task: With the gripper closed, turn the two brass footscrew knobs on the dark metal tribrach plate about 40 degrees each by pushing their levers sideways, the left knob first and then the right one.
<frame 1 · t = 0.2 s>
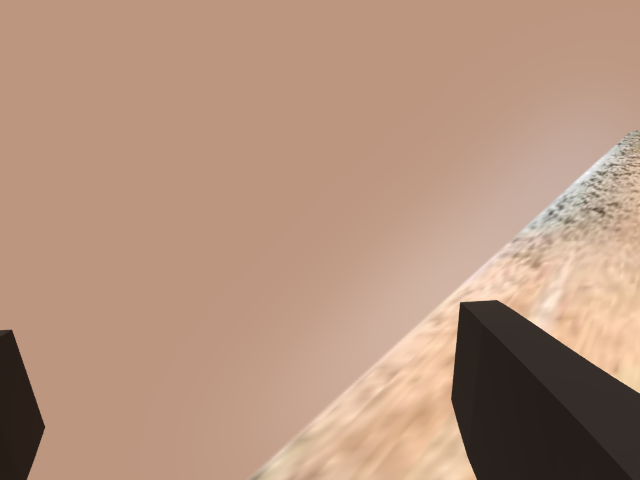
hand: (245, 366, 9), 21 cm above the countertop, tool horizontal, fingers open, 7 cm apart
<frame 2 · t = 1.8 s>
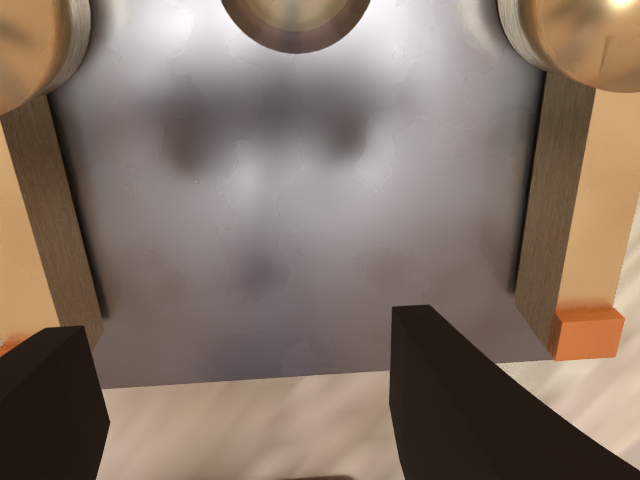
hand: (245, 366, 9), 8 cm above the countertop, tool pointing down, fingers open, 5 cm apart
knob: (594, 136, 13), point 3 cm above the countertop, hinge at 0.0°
tribrach plate: (303, 156, 16), on the countertop
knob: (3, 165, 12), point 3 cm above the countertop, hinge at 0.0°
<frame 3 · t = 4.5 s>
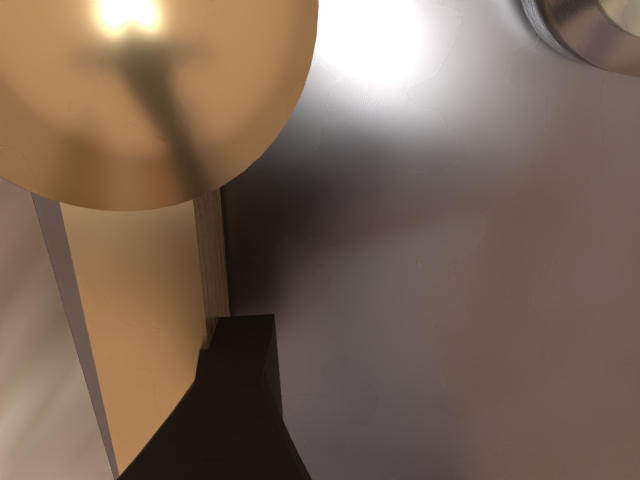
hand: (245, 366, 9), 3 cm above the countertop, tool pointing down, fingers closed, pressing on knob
tribrach plate: (543, 216, 11), on the countertop
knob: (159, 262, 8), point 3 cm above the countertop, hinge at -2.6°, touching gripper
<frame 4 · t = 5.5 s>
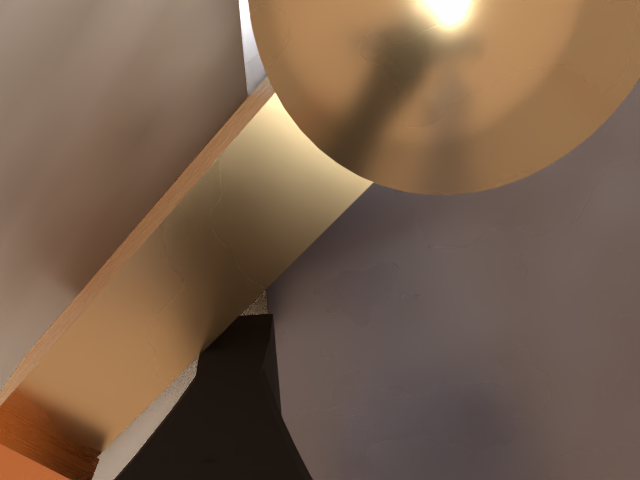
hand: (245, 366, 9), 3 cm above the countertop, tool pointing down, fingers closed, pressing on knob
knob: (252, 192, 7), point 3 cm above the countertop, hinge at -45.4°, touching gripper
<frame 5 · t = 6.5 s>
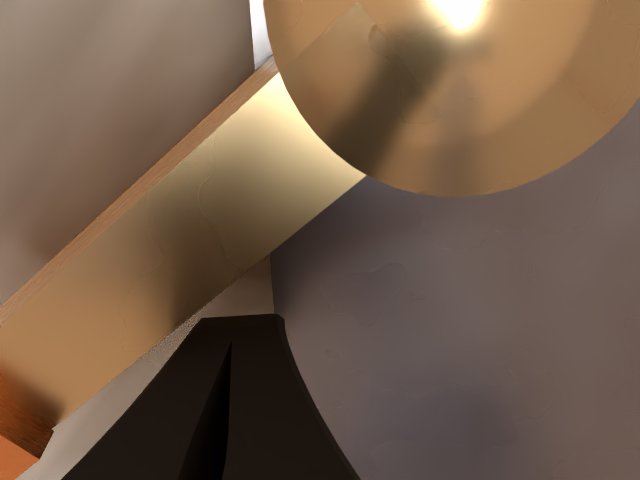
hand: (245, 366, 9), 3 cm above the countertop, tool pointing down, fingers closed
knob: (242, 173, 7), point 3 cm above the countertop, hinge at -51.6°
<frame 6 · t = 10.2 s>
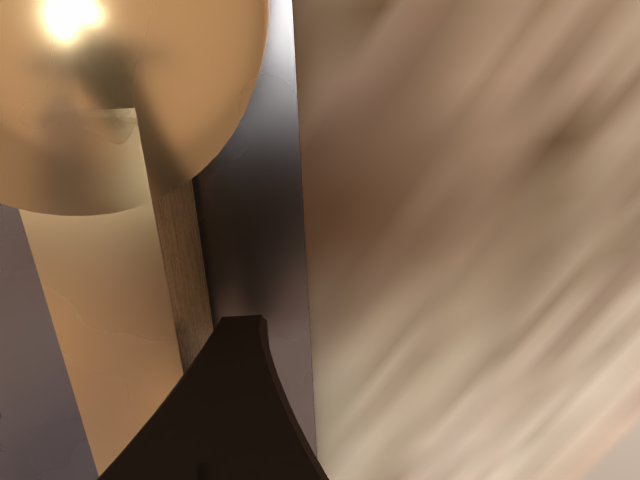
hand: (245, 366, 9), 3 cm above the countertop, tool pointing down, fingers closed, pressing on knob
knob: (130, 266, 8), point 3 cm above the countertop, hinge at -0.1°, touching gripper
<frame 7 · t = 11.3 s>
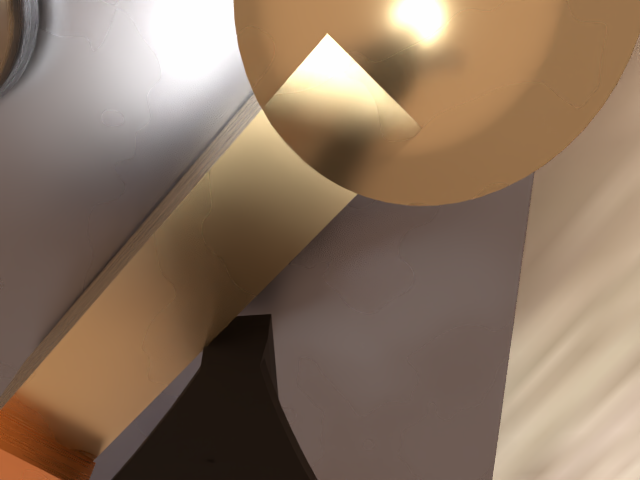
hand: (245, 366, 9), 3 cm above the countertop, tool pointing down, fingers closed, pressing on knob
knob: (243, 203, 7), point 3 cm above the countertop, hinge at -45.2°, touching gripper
tribrach plate: (40, 255, 11), on the countertop
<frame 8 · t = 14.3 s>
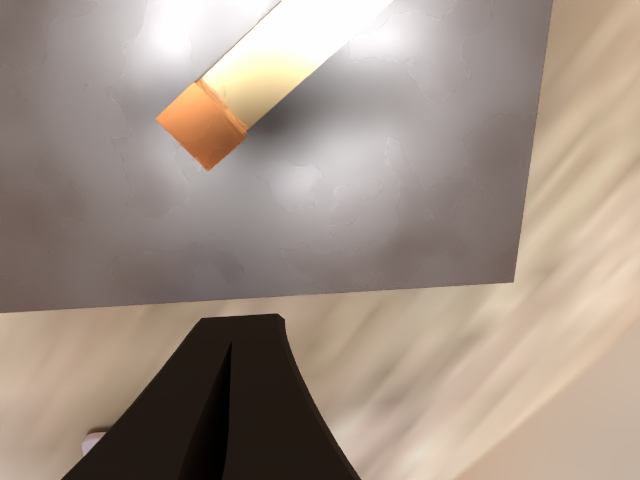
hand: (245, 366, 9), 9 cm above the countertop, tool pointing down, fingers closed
tribrach plate: (204, 69, 16), on the countertop
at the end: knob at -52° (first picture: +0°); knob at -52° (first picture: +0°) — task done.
